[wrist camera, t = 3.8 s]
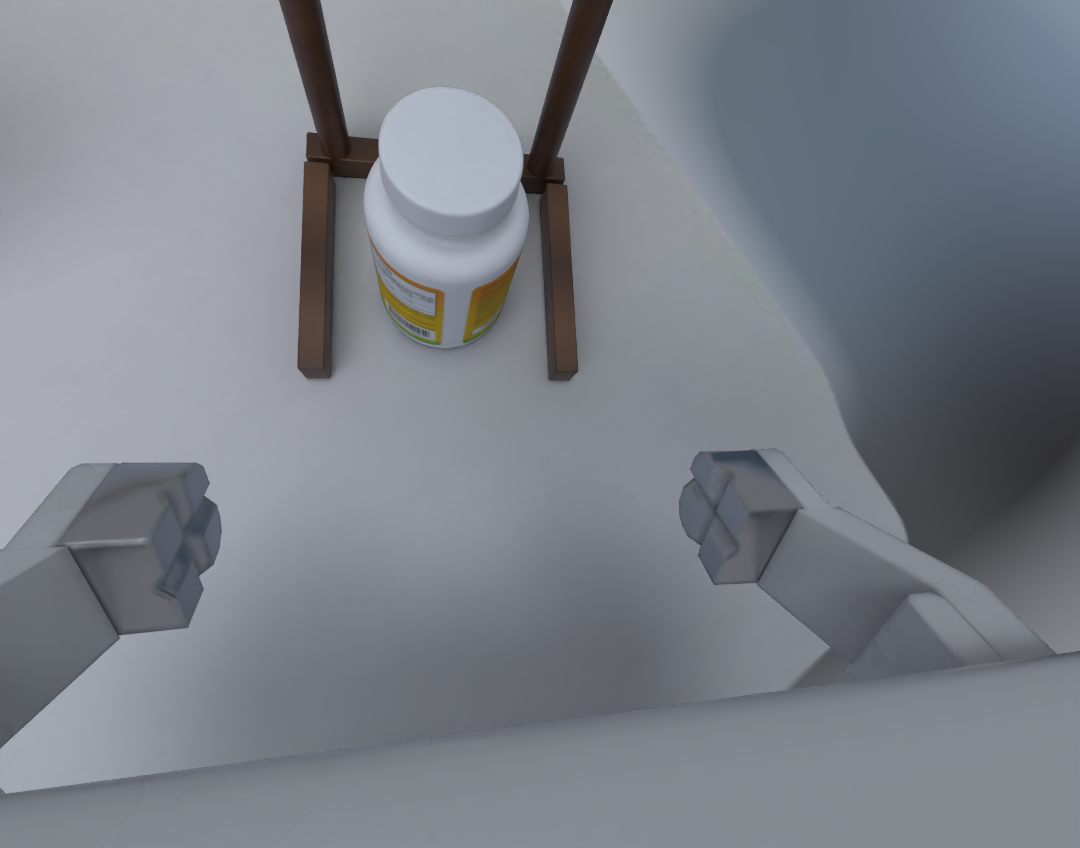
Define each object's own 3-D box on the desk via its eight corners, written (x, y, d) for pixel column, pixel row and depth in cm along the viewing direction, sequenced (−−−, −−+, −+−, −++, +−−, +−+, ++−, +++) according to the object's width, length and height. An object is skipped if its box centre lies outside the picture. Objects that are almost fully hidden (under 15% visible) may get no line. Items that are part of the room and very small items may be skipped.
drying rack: (569, 380, 24) (746, 209, 11) (305, 378, 22) (109, 153, 8) (557, 173, 26) (697, -197, 13) (312, 150, 24) (159, -339, 10)
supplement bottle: (494, 236, 25) (535, 65, 15) (509, 346, 24) (562, 235, 15) (375, 240, 24) (340, 56, 14) (387, 355, 23) (359, 241, 13)
